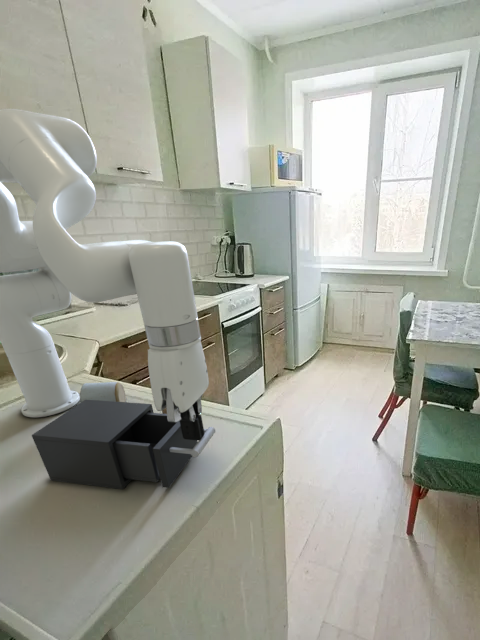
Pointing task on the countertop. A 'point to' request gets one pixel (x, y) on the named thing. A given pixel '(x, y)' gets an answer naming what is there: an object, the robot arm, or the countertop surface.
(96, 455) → the box
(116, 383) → the ceramic mug
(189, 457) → the basket
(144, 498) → the countertop surface
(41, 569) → the countertop surface
